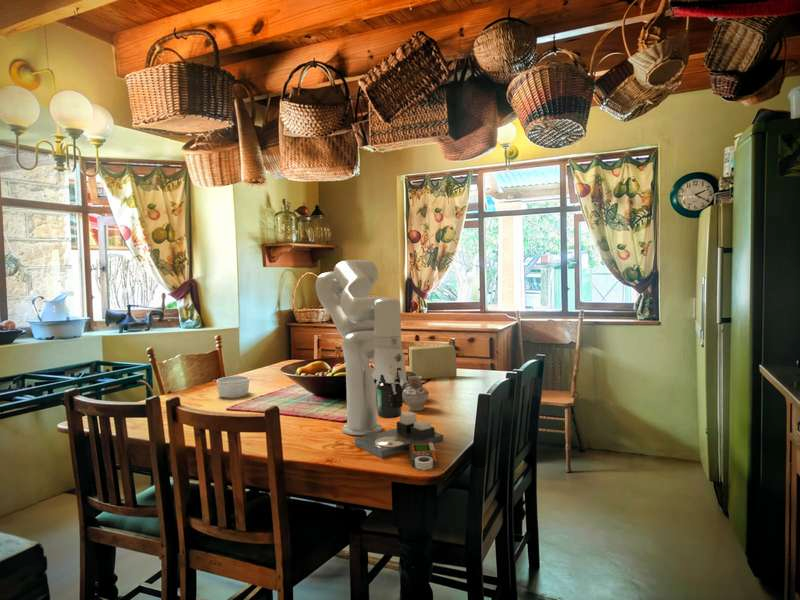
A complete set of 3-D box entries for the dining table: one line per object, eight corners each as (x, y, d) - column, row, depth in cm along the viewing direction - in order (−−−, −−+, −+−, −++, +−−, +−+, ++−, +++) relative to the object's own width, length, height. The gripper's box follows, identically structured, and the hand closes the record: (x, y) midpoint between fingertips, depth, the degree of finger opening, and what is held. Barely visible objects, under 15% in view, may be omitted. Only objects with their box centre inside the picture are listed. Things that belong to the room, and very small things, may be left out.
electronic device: (412, 462, 134) (409, 440, 149) (412, 473, 134) (409, 450, 149) (438, 461, 134) (432, 439, 149) (439, 472, 135) (433, 449, 149)
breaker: (400, 424, 162) (399, 413, 162) (409, 422, 164) (409, 411, 164) (407, 427, 159) (406, 416, 159) (416, 425, 161) (416, 413, 161)
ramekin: (244, 399, 214) (243, 382, 214) (212, 399, 215) (211, 382, 214) (254, 391, 228) (253, 375, 227) (223, 391, 228) (223, 376, 228)
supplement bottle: (377, 419, 146) (376, 376, 146) (377, 412, 153) (376, 371, 152) (402, 418, 147) (401, 375, 146) (401, 411, 153) (400, 370, 153)
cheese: (454, 374, 256) (453, 343, 255) (458, 378, 246) (458, 346, 245) (408, 376, 253) (408, 345, 252) (411, 380, 244) (411, 348, 243)
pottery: (403, 414, 188) (402, 380, 187) (391, 397, 212) (391, 368, 211) (434, 411, 190) (433, 378, 189) (419, 395, 214) (418, 366, 213)
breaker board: (354, 445, 155) (354, 430, 154) (414, 430, 168) (414, 416, 167) (381, 458, 143) (381, 442, 143) (443, 441, 156) (443, 426, 156)
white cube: (413, 434, 156) (413, 422, 156) (423, 431, 158) (423, 420, 158) (421, 437, 153) (421, 425, 153) (431, 434, 156) (430, 423, 155)
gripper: (417, 343, 144) (418, 408, 145) (381, 338, 158) (383, 397, 159) (394, 346, 140) (396, 413, 140) (360, 340, 154) (361, 401, 154)
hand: (389, 404), depth 150 cm, fingers closed on supplement bottle, 6 cm apart
